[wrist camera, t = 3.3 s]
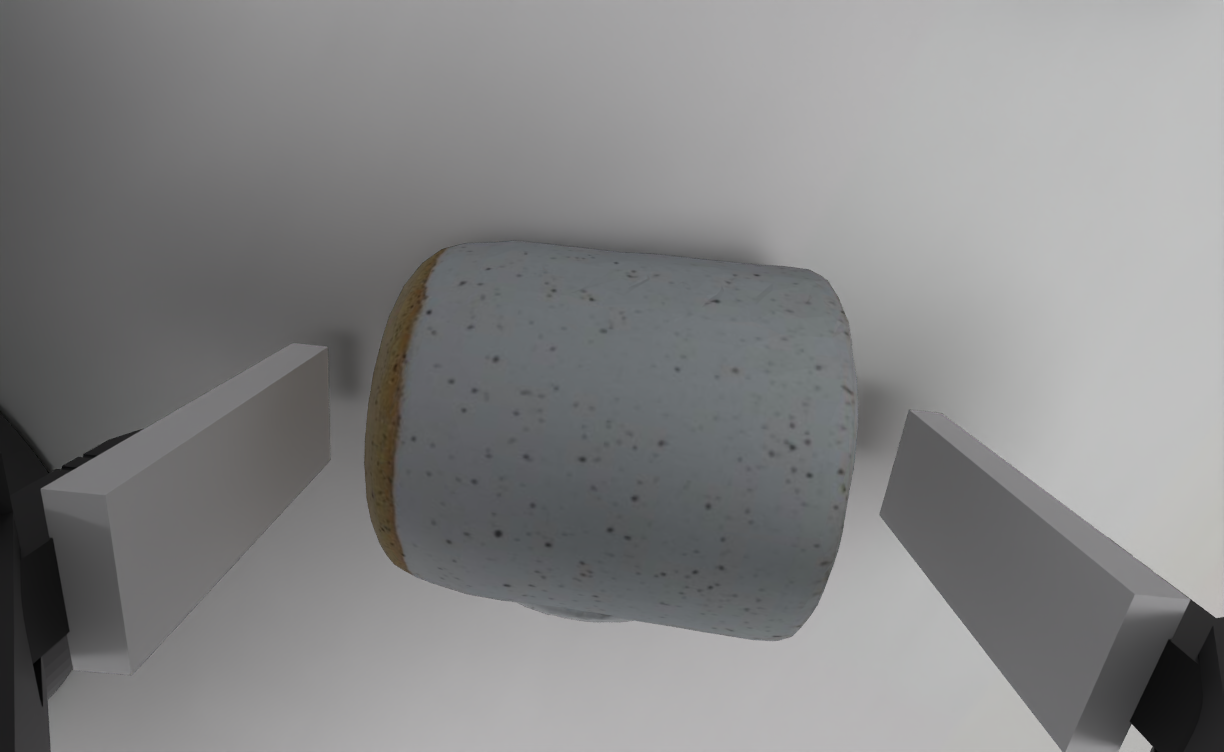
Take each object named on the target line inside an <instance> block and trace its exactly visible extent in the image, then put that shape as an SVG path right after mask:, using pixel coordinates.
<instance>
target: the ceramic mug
mask: <svg viewBox="0 0 1224 752" xmlns="http://www.w3.org/2000/svg"><path fill="white" fill-rule="evenodd" d="M857 430H858V388H857V377H856V372H855V366H854V361H853V353H852V340H851V334H850V328H849V323H848V320H847V318H846V315H845V313H844V311H843V308H842V306H841V303H840V300H839V298H838V296H837V295H836V293H835V292H834V290H833V288H832V287H831V285H830V283H829V282H828V280H826V279H824V278H823V277H822V276H821V275H819V274H817V273H815V272H813V271H811V270H809V269H802V268H793V267H785V266H771V265H755V264H745V263H735V262H725V261H715V260H705V259H696V258H687V257H678V256H668V255H659V254H650V253H623V252H614V251H606V250H597V249H588V248H580V247H571V246H562V245H553V244H543V243H533V242H524V241H503V242H491V243H464V244H460V245H456V246H452V247H448V248H445V249H442V250H440V251H439V252H437V253H436V254H434V255H433V256H432V257H430V258H429V259H428V260H426V261H425V262H423V263H422V264H421V266H420V267H419V268H418V269H417V270H416V272H415V273H414V274H413V275H412V276H411V278H410V279H409V280H408V281H407V283H406V284H405V285H404V287H403V289H402V291H401V293H400V295H399V297H398V299H397V301H396V303H395V305H394V308H393V310H392V312H391V314H390V316H389V319H388V322H387V325H386V328H385V331H384V334H383V337H382V341H381V345H380V349H379V353H378V357H377V361H376V365H375V369H374V373H373V379H372V385H371V391H370V396H369V402H368V412H367V423H366V434H365V459H364V465H365V481H366V497H367V503H368V508H369V513H370V518H371V521H372V524H373V527H374V530H375V532H376V535H377V538H378V540H379V543H380V545H381V547H382V548H383V550H384V551H385V553H386V555H387V556H388V557H389V559H390V560H391V561H392V562H393V563H394V565H396V566H398V567H399V568H401V569H403V570H404V571H406V572H408V573H410V574H412V575H414V576H416V577H418V578H420V579H423V580H425V581H428V582H430V583H433V584H437V585H440V586H443V587H446V588H449V589H452V590H455V591H459V592H462V593H465V594H469V595H475V596H480V597H486V598H492V599H497V600H503V601H512V602H517V603H519V604H521V605H523V606H525V607H528V608H531V609H533V610H536V611H539V612H542V613H545V614H547V615H555V616H559V617H562V618H567V619H573V620H579V621H587V622H626V621H641V622H647V623H654V624H660V625H666V626H672V627H678V628H684V629H689V630H695V631H701V632H707V633H713V634H719V635H725V636H732V637H738V638H744V639H750V640H765V641H779V640H782V639H785V638H789V637H792V636H793V635H794V634H795V633H796V632H797V631H798V630H799V629H800V628H801V627H802V626H803V624H804V623H805V622H806V621H807V619H808V618H809V617H810V616H811V614H812V613H813V611H814V609H815V608H816V606H817V605H818V603H819V600H820V598H821V596H822V594H823V591H824V589H825V586H826V583H827V580H828V578H829V575H830V572H831V570H832V567H833V564H834V561H835V558H836V555H837V552H838V549H839V545H840V541H841V537H842V532H843V526H844V519H845V513H846V507H847V501H848V496H849V490H850V485H851V480H852V475H853V469H854V460H855V450H856V440H857Z"/></svg>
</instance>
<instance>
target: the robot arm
mask: <svg viewBox="0 0 1224 752" xmlns="http://www.w3.org/2000/svg"><path fill="white" fill-rule="evenodd" d="M330 460H331V457H330V413H329V368H328V347H326V346H317V345H308V344H298V343H292V344H290V345H288V346H286V347H285V348H283V349H281V350H279V351H278V352H276V353H274V354H273V355H271V356H269V357H267V358H266V359H264V360H262V361H260V362H259V363H257V364H255V365H254V366H252V367H250V368H248V369H247V370H245V371H243V372H241V373H240V374H238V375H236V376H235V377H233V378H231V379H229V380H228V381H226V382H224V383H222V384H221V385H219V386H217V387H216V388H214V389H212V390H210V391H209V392H207V393H205V394H203V395H202V396H200V397H198V398H197V399H195V400H193V401H191V402H190V403H188V404H186V405H184V406H183V407H181V408H179V409H178V410H176V411H174V412H172V413H171V414H169V415H167V416H165V417H164V418H162V419H160V420H159V421H157V422H155V423H153V424H152V425H150V426H148V427H146V428H145V429H141V430H138V431H135V432H132V433H128V434H125V435H122V436H119V437H116V438H113V439H110V440H108V441H106V442H104V443H102V444H101V445H99V446H97V447H95V448H93V449H92V450H90V451H88V452H86V453H85V454H83V457H77V458H76V459H74V460H72V461H70V462H68V463H67V464H65V465H63V466H62V469H61V470H60V469H56V470H54V471H52V472H51V473H49V474H48V472H47V471H46V469H45V467H44V466H43V464H42V463H41V462H40V460H39V459H38V458H37V456H36V455H35V454H34V452H33V451H32V449H31V448H30V447H29V446H28V444H27V443H26V442H25V441H24V440H23V438H22V437H21V436H20V435H19V434H18V432H17V431H16V430H15V429H14V428H13V427H12V426H11V425H10V424H9V423H8V422H7V420H6V419H5V418H4V417H3V416H2V415H1V414H0V752H51V751H50V735H49V718H48V702H47V700H48V699H49V698H50V697H51V696H52V695H53V694H54V693H55V691H56V690H57V689H58V688H59V687H60V685H61V684H62V683H63V682H64V680H65V679H66V677H67V676H68V674H69V673H70V671H71V669H72V668H73V671H85V672H97V673H108V674H120V675H133V674H134V672H135V671H136V670H137V669H138V668H139V667H140V666H141V665H142V664H143V663H144V662H145V661H146V659H147V658H148V657H149V656H150V655H151V654H152V653H153V652H154V651H155V650H156V649H157V648H158V646H159V645H160V644H161V643H162V642H163V641H164V640H165V639H166V638H167V637H168V636H169V635H170V633H171V632H172V631H173V630H174V629H175V628H176V627H177V626H178V625H179V624H180V623H181V622H182V620H183V619H184V618H185V617H186V616H187V615H188V614H189V613H190V612H191V611H192V610H193V609H194V607H195V606H196V605H197V604H198V603H199V602H200V601H201V600H202V599H203V598H204V597H205V596H206V594H207V593H208V592H209V591H210V590H211V589H212V588H213V587H214V586H215V585H216V584H217V582H218V581H219V580H220V579H221V578H222V577H223V576H224V575H225V574H226V573H227V572H228V571H229V569H230V568H231V567H232V566H233V565H234V564H235V563H236V562H237V561H238V560H239V559H240V558H241V556H242V555H243V554H244V553H245V552H246V551H247V550H248V549H249V548H250V547H251V546H252V545H253V543H254V542H255V541H256V540H257V539H258V538H259V537H260V536H261V535H262V534H263V533H264V532H265V530H266V529H267V528H268V527H269V526H270V525H271V524H272V523H273V522H274V521H275V520H276V519H277V517H278V516H279V515H280V514H281V513H282V512H283V511H284V510H285V509H286V508H287V507H288V506H289V504H290V503H291V502H292V501H293V500H294V499H295V498H296V497H297V496H298V495H299V494H300V493H301V491H302V490H303V489H304V488H305V487H306V486H307V485H308V484H309V483H310V482H311V481H312V480H313V478H314V477H315V476H316V475H317V474H318V473H319V472H320V471H321V470H322V469H323V468H324V466H325V465H326V464H327V463H328V462H329V461H330ZM880 516H881V518H882V519H883V520H884V522H885V523H886V524H887V525H888V527H889V528H890V529H891V531H892V532H893V533H894V534H895V536H896V537H897V538H898V540H899V541H900V542H901V543H902V545H903V546H904V547H905V549H906V550H907V551H908V553H909V554H910V555H911V556H912V558H913V559H914V560H915V562H916V563H917V564H918V565H919V567H920V568H921V569H922V571H923V572H924V573H925V575H926V576H927V577H928V578H929V580H930V581H931V582H932V584H933V585H934V586H935V587H936V589H937V590H938V591H939V593H940V594H941V595H942V596H943V598H944V599H945V600H946V602H947V603H948V604H949V606H950V607H951V608H952V609H953V611H954V612H955V613H956V615H957V616H958V617H959V618H960V620H961V621H962V622H963V624H964V625H965V626H966V627H967V629H968V630H969V631H970V633H971V634H972V635H973V637H974V638H975V639H976V640H977V642H978V643H979V644H980V646H981V647H982V648H983V649H984V651H985V652H986V653H987V655H988V656H989V657H990V658H991V660H992V661H993V662H994V664H995V665H996V666H997V668H998V669H999V670H1000V671H1001V673H1002V674H1003V675H1004V677H1005V678H1006V679H1007V680H1008V682H1009V683H1010V684H1011V686H1012V687H1013V688H1014V689H1015V691H1016V692H1017V693H1018V695H1019V696H1020V697H1021V699H1022V700H1023V701H1024V702H1025V704H1026V705H1027V706H1028V708H1029V709H1030V710H1031V711H1032V713H1033V714H1034V715H1035V717H1036V718H1037V719H1038V720H1039V722H1040V723H1041V724H1042V726H1043V727H1044V728H1045V730H1046V731H1047V732H1048V733H1049V735H1050V736H1051V737H1052V739H1053V740H1054V741H1055V742H1056V744H1057V745H1058V746H1059V748H1060V749H1061V750H1062V752H1118V751H1119V749H1120V747H1121V745H1122V743H1123V741H1124V739H1125V736H1126V734H1127V732H1128V730H1129V728H1130V726H1131V724H1132V725H1133V726H1134V727H1135V728H1136V729H1137V730H1138V731H1139V732H1140V733H1141V734H1142V735H1143V736H1144V737H1145V738H1146V740H1147V741H1148V742H1149V743H1150V744H1151V745H1152V746H1153V747H1152V749H1151V751H1150V752H1224V617H1222V618H1215V617H1214V616H1212V615H1211V614H1210V613H1208V612H1207V611H1206V610H1204V609H1203V608H1202V607H1200V606H1199V605H1198V604H1196V603H1195V602H1194V601H1192V600H1191V599H1190V598H1188V597H1187V596H1186V595H1184V594H1183V593H1182V592H1180V591H1179V590H1178V589H1176V588H1175V587H1174V586H1172V585H1171V584H1170V583H1168V582H1167V581H1166V580H1164V579H1163V578H1162V577H1160V576H1159V575H1157V574H1156V573H1154V572H1153V571H1152V570H1151V569H1150V568H1148V567H1147V566H1146V565H1144V564H1143V563H1142V562H1140V561H1139V560H1138V559H1136V558H1134V557H1133V556H1132V555H1131V554H1130V553H1128V552H1127V551H1126V550H1124V549H1123V548H1122V547H1120V546H1119V545H1118V544H1116V543H1115V542H1114V541H1112V540H1111V539H1109V538H1108V537H1106V536H1105V535H1104V534H1102V533H1101V532H1100V531H1098V530H1097V529H1096V528H1094V527H1093V526H1092V525H1090V524H1089V523H1088V522H1086V521H1085V520H1084V519H1082V518H1081V517H1080V516H1078V515H1077V514H1076V513H1074V512H1073V511H1072V510H1070V509H1069V508H1068V507H1066V506H1065V505H1064V504H1062V503H1061V502H1060V501H1058V500H1057V499H1056V498H1054V497H1053V496H1052V495H1050V494H1049V493H1048V492H1046V491H1045V490H1044V489H1042V488H1041V487H1040V486H1038V485H1037V484H1036V483H1034V482H1033V481H1032V480H1030V479H1029V478H1028V477H1026V476H1025V475H1024V474H1022V473H1021V472H1020V471H1018V470H1017V469H1016V468H1014V467H1013V466H1012V465H1010V464H1009V463H1008V462H1006V461H1005V460H1004V459H1002V458H1001V457H1000V456H998V455H997V454H996V453H994V452H993V451H992V450H990V449H989V448H988V447H986V446H985V445H984V444H982V443H981V442H980V441H978V440H977V439H976V438H974V437H973V436H972V435H970V434H969V433H968V432H966V431H965V430H964V429H962V428H961V427H960V426H958V425H957V424H955V423H954V422H953V421H951V420H950V419H949V418H947V417H946V416H945V415H943V414H942V413H937V412H928V411H918V410H909V411H908V415H907V419H906V422H905V426H904V429H903V433H902V436H901V440H900V443H899V447H898V451H897V454H896V458H895V461H894V465H893V468H892V472H891V475H890V479H889V483H888V486H887V490H886V493H885V497H884V500H883V504H882V507H881V511H880Z"/></svg>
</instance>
